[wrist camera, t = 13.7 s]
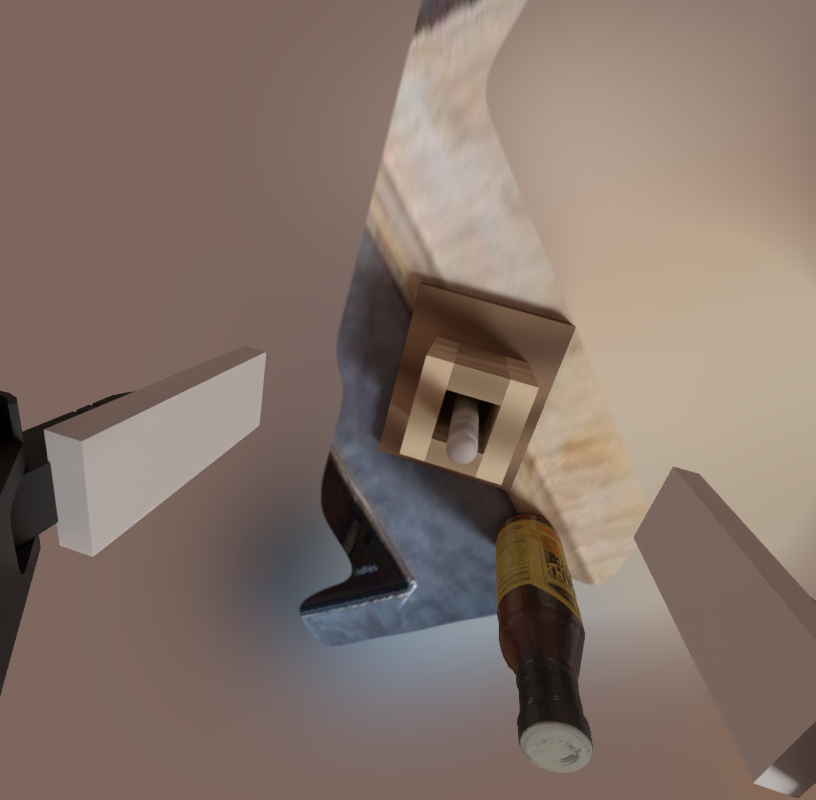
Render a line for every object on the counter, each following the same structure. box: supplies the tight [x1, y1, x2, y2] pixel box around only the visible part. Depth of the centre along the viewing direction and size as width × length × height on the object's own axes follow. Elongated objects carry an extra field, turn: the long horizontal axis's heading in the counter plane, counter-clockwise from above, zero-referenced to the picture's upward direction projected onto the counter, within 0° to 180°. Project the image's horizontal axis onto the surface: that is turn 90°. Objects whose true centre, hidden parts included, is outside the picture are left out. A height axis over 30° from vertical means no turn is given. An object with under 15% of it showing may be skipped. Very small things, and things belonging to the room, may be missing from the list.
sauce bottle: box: [496, 514, 593, 772], centre depth 32 cm, size 7×6×20 cm
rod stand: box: [378, 283, 576, 491], centre depth 31 cm, size 16×13×14 cm
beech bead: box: [400, 337, 539, 485], centre depth 33 cm, size 8×8×7 cm
